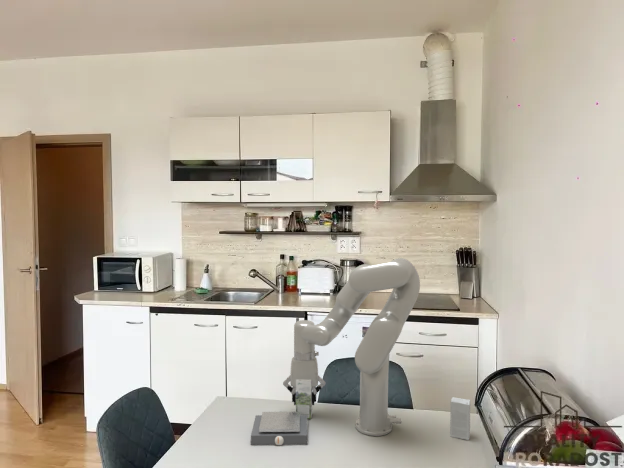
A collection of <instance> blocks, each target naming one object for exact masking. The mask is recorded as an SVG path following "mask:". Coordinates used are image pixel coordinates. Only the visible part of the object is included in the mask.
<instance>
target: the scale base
mask: <svg viewBox="0 0 624 468" xmlns="http://www.w3.org/2000/svg"><path fill="white" fill-rule="evenodd" d="M261 417H262V414H260V415H259V414H258V415H257V414H256V415H255V417H254V420H253V421H254V422H253V426H252V430H251V433H250V434H251V435H250V445H251V446H265V445H266V446H267V445H268V446H270V445H271V446H272V445H274V446H283V445H284V446H286V445H289V446H291V445H295V446H297V445H300V446H301V445H305V446H306V445H308V419H307V415H300V432H259V427H260V422H261Z"/></svg>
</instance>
